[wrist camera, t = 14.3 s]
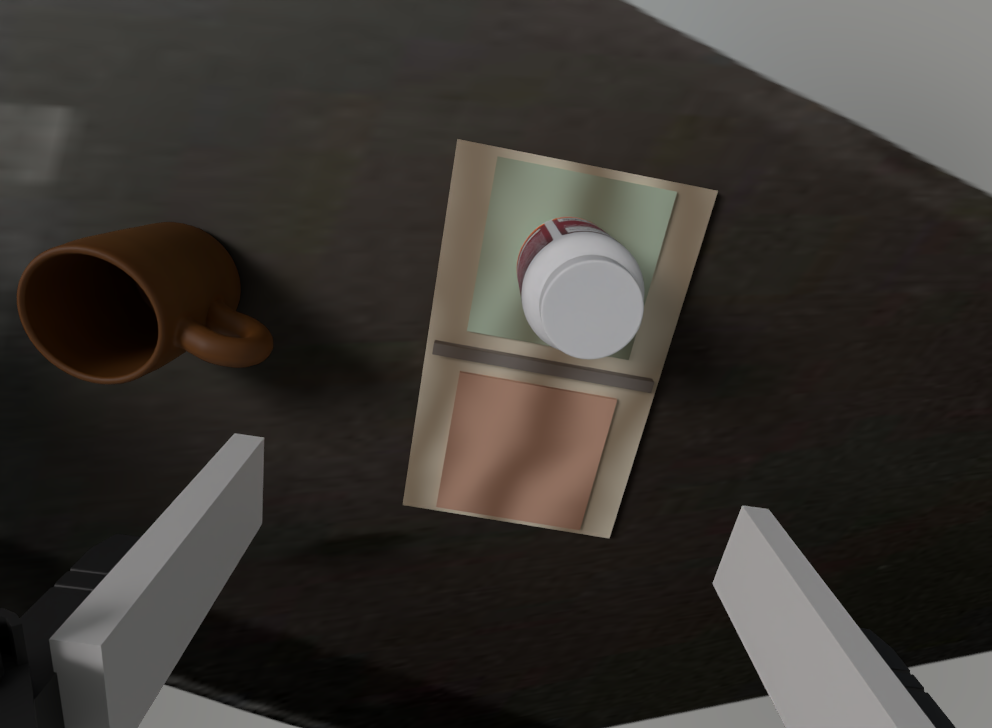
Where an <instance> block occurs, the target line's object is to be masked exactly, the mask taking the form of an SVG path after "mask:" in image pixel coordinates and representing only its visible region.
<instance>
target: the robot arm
mask: <svg viewBox="0 0 992 728" xmlns="http://www.w3.org/2000/svg"><path fill="white" fill-rule="evenodd" d="M263 465H264V438H263V437H256V436H249V435H242V434H235V433H234V435H233V436H232V437H231V438H230V439H229V440H228V441H227V442H226V443H225V445H224V446H223V447H222V448H221V449H220V450H219V451H218V452H217V453H216V455H215V456H214V457H213V458H212V459H211V460H210V461H209V462H208V463H207V465H206V466H205V467H204V468H203V469H202V470H201V471H200V472H199V473H198V475H197V476H196V477H195V478H194V479H193V480H192V481H191V482H190V483H189V485H188V486H187V487H186V488H185V489H184V490H183V491H182V492H181V493H180V495H179V496H178V497H177V498H176V499H175V500H174V501H173V502H172V503H171V505H170V506H169V507H168V508H167V509H166V510H165V511H164V512H163V513H162V514H161V516H160V517H159V518H158V519H157V520H156V521H155V522H154V523H153V524H152V526H151V527H150V528H149V529H148V530H147V531H146V532H145V533H144V534H143V536H142V537H138V536H130V535H122V534H115V535H113V536H111V537H110V538H108V539H106V540H104V541H103V542H101V543H99V544H97V545H95V546H94V547H92V548H90V549H89V550H88V551H87V552H86V553H85V554H84V555H83V556H82V557H81V558H80V559H79V560H78V561H77V562H76V563H75V564H74V565H73V566H72V567H71V570H70V571H69V572H68V571H67V572H66V573H65V574H64V575H63V576H62V577H61V578H60V579H59V580H58V581H57V582H56V583H55V586H54V587H53V588H52V587H51V588H50V589H49V590H48V591H47V592H46V593H45V594H44V595H43V596H42V597H41V598H40V599H39V600H38V601H37V602H36V603H35V604H34V605H33V606H32V607H31V608H30V609H29V610H28V611H27V612H26V613H25V614H24V615H23V616H22V617H21V618H20V619H19V617H18V616H17V614H16V613H13V612H11V611H9V610H6V609H4V608H0V728H137V727H138V726H139V724H140V723H141V721H142V719H143V718H144V716H145V714H146V713H147V711H148V710H149V708H150V706H151V705H152V703H153V701H154V700H155V698H156V696H157V695H158V693H159V692H160V690H161V688H162V687H163V685H164V683H165V682H166V680H167V678H168V677H169V675H170V674H171V672H172V670H173V669H174V667H175V665H176V664H177V662H178V660H179V659H180V657H181V656H182V654H183V652H184V651H185V649H186V647H187V646H188V644H189V642H190V641H191V639H192V638H193V636H194V634H195V633H196V631H197V629H198V628H199V626H200V624H201V623H202V621H203V620H204V618H205V616H206V615H207V613H208V611H209V610H210V608H211V607H212V605H213V603H214V602H215V600H216V598H217V597H218V595H219V593H220V592H221V590H222V589H223V587H224V585H225V584H226V582H227V580H228V579H229V577H230V575H231V574H232V572H233V571H234V569H235V567H236V566H237V564H238V562H239V561H240V559H241V557H242V556H243V554H244V553H245V551H246V549H247V548H248V546H249V544H250V543H251V541H252V539H253V538H254V536H255V535H256V533H257V531H258V530H259V528H260V526H261V525H262V506H263ZM713 585H714V587H715V589H716V591H717V593H718V595H719V597H720V599H721V601H722V603H723V605H724V607H725V609H726V611H727V613H728V615H729V617H730V619H731V621H732V623H733V625H734V627H735V629H736V631H737V633H738V635H739V637H740V639H741V641H742V643H743V645H744V647H745V649H746V651H747V653H748V655H749V657H750V659H751V661H752V663H753V665H754V666H755V668H756V670H757V672H758V674H759V676H760V678H761V680H762V682H763V684H764V686H765V688H766V690H767V692H768V694H769V696H770V698H771V700H772V702H773V704H774V706H775V708H776V710H777V712H778V714H779V716H780V718H781V720H782V722H783V724H784V726H785V728H955V727H954V725H953V724H952V723H951V721H950V720H949V719H948V718H947V716H946V715H945V714H944V713H943V711H942V710H941V709H940V707H939V706H938V705H937V704H936V702H935V701H934V700H933V699H932V698H931V696H930V695H929V694H928V693H925V692H924V687H923V686H922V685H921V684H920V682H919V681H918V680H917V679H916V677H915V676H914V675H911V674H910V670H909V669H908V667H907V666H906V665H905V664H904V662H903V661H902V660H901V659H900V657H899V656H898V655H897V654H896V652H895V651H894V650H893V649H892V648H891V647H890V646H889V645H887V644H886V643H885V642H884V641H883V640H881V639H880V638H879V637H878V636H877V635H876V634H874V633H873V632H872V631H871V630H870V629H863V628H859V627H858V626H857V624H856V623H855V622H854V620H853V619H852V618H851V616H850V615H849V614H848V613H847V611H846V610H845V609H844V607H843V606H842V605H841V603H840V602H839V601H838V599H837V598H836V597H835V596H834V594H833V593H832V592H831V590H830V589H829V588H828V586H827V585H826V584H825V582H824V581H823V580H822V579H821V577H820V576H819V575H818V573H817V572H816V571H815V569H814V568H813V567H812V565H811V564H810V563H809V562H808V560H807V559H806V558H805V556H804V555H803V554H802V552H801V551H800V550H799V548H798V547H797V546H796V545H795V543H794V542H793V541H792V539H791V538H790V537H789V535H788V534H787V533H786V531H785V530H784V529H783V528H782V526H781V525H780V524H779V522H778V521H777V520H776V518H775V517H774V516H773V514H772V513H771V512H770V511H769V509H763V508H756V507H749V506H742V508H741V510H740V513H739V515H738V518H737V521H736V523H735V526H734V528H733V531H732V534H731V536H730V539H729V541H728V544H727V547H726V549H725V552H724V554H723V557H722V560H721V562H720V565H719V568H718V570H717V573H716V575H715V578H714V581H713Z"/></svg>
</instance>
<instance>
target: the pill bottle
mask: <svg viewBox="0 0 992 728" xmlns="http://www.w3.org/2000/svg"><path fill="white" fill-rule="evenodd" d="M517 279H518V284H519V290H520V295H521V301H522V307H523V310H524V314H525V317H526V319H527V321H528V323H529V325H530V327H531V328H532V330H533V331H534V332H535V333H536V335H537V336H538V337H539V338H540V339H541V340H543V341H544V342H545V343H547V344H548V345H550V346H551V347H553V348H555V349H558V350H560V351H562V352H564V353H565V354H567V355H570V356H572V357H575V358H580V359H600V358H604V357H607V356H610V355H612V354H614V353H616V352H618V351H619V350H621V349H622V348H624V347H625V346H626V345H627V344H628V343H629V342H630V341H631V340H632V339H633V337H634V336H635V334H636V333H637V331H638V329H639V327H640V324H641V321H642V318H643V312H644V281H643V276H642V273H641V270H640V268H639V265H638V263H637V262H636V260H635V258H634V257H633V256H632V254H631V253H630V252H629V251H628V250H627V249H626V248H625V247H624V246H623V245H622V244H620V243H619V242H618V241H616V240H615V239H614V238H612V237H611V236H610V235H608V234H607V233H606V232H605V231H603V230H602V229H601V228H599V227H598V226H597V225H595V224H593V223H592V222H590V221H587V220H585V219H581V218H577V217H559V218H555V219H551V220H549V221H546V222H544V223H543V224H541V225H540V226H538V227H537V228H536V229H534V230H533V231H532V232H531V234H530V235H529V236H528V237H527V238H526V240H525V241H524V243H523V245H522V247H521V249H520V252H519V255H518V259H517Z"/></svg>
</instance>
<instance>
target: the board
mask: <svg viewBox="0 0 992 728" xmlns="http://www.w3.org/2000/svg"><path fill="white" fill-rule="evenodd" d="M717 193H718V191H716V190H711V189H706V188H701V187H696V186H691V185H686V184H681V183H676V182H670V181H665V180H660V179H655V178H650V177H645V176H640V175H635V174H630V173H625V172H620V171H615V170H610V169H605V168H600V167H595V166H590V165H585V164H580V163H575V162H570V161H565V160H560V159H555V158H550V157H545V156H540V155H535V154H530V153H525V152H520V151H515V150H510V149H505V148H500V147H495V146H490V145H484V144H479V143H474V142H469V141H464V140H459V139H457V146H456V152H455V159H454V166H453V173H452V179H451V186H450V193H449V199H448V206H447V213H446V219H445V226H444V233H443V239H442V246H441V253H440V259H439V266H438V273H437V279H436V286H435V293H434V299H433V306H432V313H431V319H430V326H429V333H428V339H427V346H426V353H425V359H424V366H423V373H422V379H421V386H420V393H419V399H418V406H417V413H416V419H415V426H414V433H413V439H412V446H411V453H410V459H409V466H408V473H407V479H406V486H405V493H404V499H403V505H407V506H413V507H419V508H426V509H432V510H438V511H444V512H450V513H456V514H462V515H469V516H475V517H481V518H487V519H493V520H499V521H506V522H512V523H518V524H524V525H530V526H536V527H542V528H549V529H555V530H561V531H567V532H573V533H579V534H586V535H592V536H598V537H604V538H610V535H611V532H612V529H613V525H614V522H615V519H616V516H617V513H618V509H619V506H620V503H621V500H622V497H623V493H624V490H625V487H626V484H627V481H628V477H629V474H630V471H631V468H632V465H633V461H634V458H635V455H636V452H637V449H638V445H639V442H640V439H641V436H642V433H643V429H644V426H645V423H646V420H647V417H648V413H649V410H650V407H651V404H652V401H653V397H654V394H655V391H656V388H657V385H658V381H659V378H660V375H661V372H662V369H663V365H664V362H665V359H666V356H667V353H668V349H669V346H670V343H671V340H672V337H673V333H674V330H675V327H676V324H677V321H678V317H679V314H680V311H681V308H682V305H683V301H684V298H685V295H686V292H687V289H688V285H689V282H690V279H691V276H692V273H693V269H694V266H695V263H696V260H697V257H698V253H699V250H700V247H701V244H702V241H703V238H704V234H705V231H706V228H707V225H708V222H709V218H710V215H711V212H712V209H713V206H714V202H715V199H716V196H717ZM559 217H577V218H581V219H585V220H587V221H590V222H592V223H593V224H595V225H597V226H598V227H599V228H601V229H602V230H603V231H605V232H606V233H607V234H608V235H610V236H611V237H612V238H614V239H615V240H616V241H618V242H619V243H620V244H622V245H623V246H624V247H625V248H626V249H627V250H628V251H629V252H630V253H631V254H632V256H633V257H634V258H635V260H636V262H637V263H638V265H639V268H640V270H641V273H642V276H643V281H644V312H643V318H642V321H641V324H640V327H639V329H638V331H637V333H636V334H635V336H634V337H633V339H632V340H631V341H630V342H629V343H628V344H627V345H626V346H625V347H624V348H622V349H621V350H619V351H618V352H616V353H614V354H612V355H610V356H607V357H604V358H600V359H580V358H575V357H572V356H570V355H567V354H565V353H564V352H562V351H560V350H558V349H555V348H553V347H551V346H550V345H548V344H547V343H545V342H544V341H543V340H541V339H540V338H539V337H538V336H537V335H536V333H535V332H534V331H533V330H532V328H531V327H530V325H529V323H528V321H527V319H526V317H525V314H524V310H523V307H522V301H521V295H520V290H519V284H518V279H517V259H518V255H519V252H520V249H521V247H522V245H523V243H524V241H525V240H526V238H527V237H528V236H529V235H530V234H531V232H532V231H533V230H534V229H536V228H537V227H538V226H540V225H541V224H543V223H544V222H546V221H549V220H551V219H555V218H559Z"/></svg>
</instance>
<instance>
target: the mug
mask: <svg viewBox="0 0 992 728" xmlns="http://www.w3.org/2000/svg"><path fill="white" fill-rule="evenodd" d="M240 294H241V284H240V277H239V274H238V270H237V268H236V265H235V263H234V261H233V259H232V258H231V256H230V255H229V253H228V252H227V250H226V249H225V248H224V247H223V246H222V245H221V244H220V243H219V242H218V241H217V240H216V239H215V238H214V237H212V236H211V235H209V234H208V233H206V232H204V231H203V230H201V229H199V228H196V227H194V226H191V225H187V224H183V223H175V222H162V223H155V224H149V225H144V226H139V227H134V228H128V229H123V230H118V231H113V232H108V233H104V234H99V235H94V236H89V237H85V238H81V239H78V240H74V241H71V242H68V243H66V244H63V245H60V246H57V247H54V248H51V249H49V250H46V251H44V252H42V253H41V254H39V255H38V256H37V257H35V258H34V259H33V260H32V261H31V262H30V263H29V265H28V266H27V267H26V269H25V270H24V272H23V274H22V276H21V278H20V281H19V285H18V289H17V307H18V313H19V316H20V320H21V323H22V325H23V327H24V330H25V332H26V333H27V335H28V337H29V339H30V340H31V342H32V343H33V344H34V346H35V347H36V348H37V349H38V350H39V352H40V353H41V354H42V355H43V356H44V357H45V358H46V359H47V360H49V361H50V362H51V363H52V364H54V365H55V366H56V367H58V368H59V369H61V370H62V371H64V372H66V373H67V374H70V375H72V376H74V377H76V378H79V379H81V380H84V381H88V382H92V383H99V384H121V383H126V382H130V381H133V380H135V379H138V378H140V377H142V376H144V375H146V374H148V373H150V372H152V371H154V370H157V369H159V368H160V367H162V366H164V365H165V364H167V363H169V362H170V361H172V360H173V359H175V358H177V357H178V356H180V355H181V354H183V353H184V352H186V351H188V352H189V353H191V354H193V355H195V356H197V357H198V358H200V359H202V360H204V361H206V362H209V363H212V364H216V365H220V366H226V367H234V368H240V367H249V366H252V365H256V364H259V363H261V362H262V361H264V360H265V359H266V358H268V357H269V355H270V353H271V351H272V349H273V337H272V335H271V333H270V331H269V330H268V328H267V327H266V326H264V325H263V324H262V323H260V322H259V321H257V320H256V319H254V318H252V317H250V316H247V315H245V314H242V313H239V312H237V311H236V309H237V307H238V304H239V300H240Z"/></svg>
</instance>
